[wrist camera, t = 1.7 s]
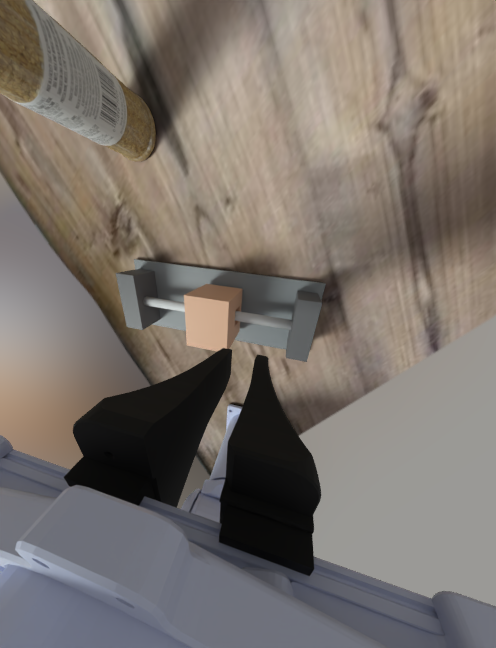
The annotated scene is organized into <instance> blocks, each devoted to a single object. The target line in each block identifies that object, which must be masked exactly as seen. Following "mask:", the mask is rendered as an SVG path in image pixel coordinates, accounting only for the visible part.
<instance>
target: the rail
mask: <svg viewBox="0 0 496 648" xmlns="http://www.w3.org/2000/svg"><path fill="white" fill-rule="evenodd" d="M134 263H135V269H136V270H131V271H125V272H120V273H116V277H117V282H118V287H119V291H120V296H121V301H122V305H123V310H124V315H125V320H126V324H127V327H131V328H136V329H141V330H143V329H145V328H146V327H148V326H150V325H152V324H153V325H158V326H163V327H169V328H174V329H179V330H184V331H186V322H185V306H184V295H185V294H187V293H189V292H191V291H193V290H195V289H197V288H199V287H201V286H203V285H205V284H212V285H219V286H227V287H234V288H241V289H243V291H242V304H241V312H240V311H235V321H240V331H239V333H238V335H237V336H236V338H235V340H238V341H243V342H248V343H254V344H259V345H264V346H270V347H275V348H280V349H286V358H289V359H295V360H300V361H305V362H307V358H308V355H309V351H310V347H311V344H312V340H313V336H314V332H315V329H316V325H317V321H318V317H319V314H320V310H321V306H322V301H321V300H322V296H323V292H324V288H325V285H326V284H325V283H321V282H313V281H305V280H297V279H290V278H282V277H274V276H266V275H258V274H250V273H242V272H234V271H226V270H218V269H211V268H203V267H195V266H187V265H179V264H171V263H163V262H155V261H147V260H140V259H134Z"/></svg>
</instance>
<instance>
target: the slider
mask: <svg viewBox="0 0 496 648" xmlns="http://www.w3.org/2000/svg"><path fill="white" fill-rule="evenodd" d="M242 291H243V289H241V288H234V287H227V286H219V285H212V284H205V285H203V286H201V287H199V288H197V289H195V290H193V291H191V292H189V293H187V294H185V295H184V306H185V322H186V338H187V345H188V346H193V347H198V348H203V349H208V350H213V351H219V350H221V349H222V348H226V349H229V348H230V347H231V345H232V343H233V341H234V340H235V338H236V336H237V335H238V333H239V331H240V321H235V311H240V312H241V304H242Z"/></svg>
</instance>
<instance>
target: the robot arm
mask: <svg viewBox="0 0 496 648" xmlns="http://www.w3.org/2000/svg"><path fill="white" fill-rule="evenodd" d="M231 359H232V350H231V349H226V348H222V349H221V350H219V351H218V352H216V353H215V354H213V355H212V356H210V357H209V358H207V359H206V360H204V361H203V362H201V363H199V364H198V365H196V366H194V367H193V368H191V369H189V370H187V371H185V372H183V373H181V374H179V375H177V376H175V377H173V378H171V379H168V380H165V381H163V382H160V383H158V384H155V385H152V386H149V387H146V388H143V389H140V390H136V391H133V392H129V393H125V394H121V395H116V396H112V397H107V398H104V399H103V400H102V401H100V402H99V403H98V404H97V405H96V406H94V407H93V408H92V409H91V410H90V411H88V412H87V413H86V414H85V415H84V416H82V417H81V418H80V419H79V420H78V421H76V423H75V424H74V427H73V434H74V437H75V439H76V441H77V443H78V445H79V447H80V450H81V452H82V454H83V456H84V457H83V458H82V459H81V460H80V461H79V462H78V463H77V464H76V465H75V466H74V467H73V468H72V469H71V470H70V469H67V468H64V467H61V466H58V465H56V464H53V463H50V462H47V461H44V460H42V459H38V458H36V457H33V456H30V455H28V454H25V453H22V452H19V451H16V450H14V449H13V447H12V445H11V444H10V442H9V441H8V440H7V439H6V438H4V437H3V436H1V435H0V648H496V606H493V605H490V604H487V603H484V602H481V601H478V600H475V599H472V598H470V597H467V596H464V595H461V594H458V593H454V592H450V591H442V592H438V593H437V594H435V595H434V596H433V598H432V599H431V598H428V597H425V596H423V595H420V594H417V593H414V592H411V591H409V590H406V589H403V588H400V587H397V586H395V585H392V584H389V583H386V582H383V581H381V580H378V579H375V578H372V577H370V576H367V575H364V574H361V573H358V572H356V571H353V570H350V569H347V568H344V567H342V566H339V565H336V564H333V563H330V562H328V561H325V560H322V559H319V558H316V557H314V556H313V541H312V533H313V532H314V523H313V514H314V512H315V510H316V508H317V506H318V504H319V502H320V498H321V489H320V483H319V478H318V474H317V470H316V467H315V463H314V460H313V457H312V455H311V453H310V452H309V450H308V449H307V448H306V446H305V445H304V444H303V442H302V441H301V439H300V438H299V436H298V435H297V433H296V432H295V430H294V429H293V427H292V425H291V424H290V422H289V420H288V418H287V417H286V415H285V413H284V411H283V409H282V407H281V405H280V403H279V400H278V398H277V396H276V393H275V390H274V387H273V384H272V381H271V377H270V373H269V367H268V357H266V356H261V355H257V356H256V359H255V362H254V368H253V374H252V379H251V384H250V388H249V391H248V393H247V396H246V399H245V402H244V404H243V407H240V406H236V405H232V404H229V405H228V409H227V428H226V434H225V437H224V439H223V442H222V445H221V448H220V451H219V454H218V457H217V459H216V462H215V465H214V468H213V471H212V474H211V477H210V479H209V480H207V479H206V480H205V482H204V484H203V487H202V490H201V489H196V490H194V491H193V492H192V493H191V494H190V495H189V496H188V497H187V499H186V500H185V502H184V504H183V506H182V507H181V509H179V508H177V505H178V502H179V499H180V496H181V493H182V490H183V487H184V485H185V482H186V479H187V476H188V473H189V471H190V468H191V465H192V463H193V460H194V457H195V455H196V452H197V449H198V447H199V444H200V442H201V439H202V437H203V434H204V432H205V429H206V427H207V424H208V422H209V420H210V418H211V416H212V414H213V412H214V410H215V408H216V406H217V404H218V403H219V401H220V399H221V397H222V395H223V393H224V391H225V389H226V386H227V384H228V381H229V378H230V375H231Z"/></svg>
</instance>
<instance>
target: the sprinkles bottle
mask: <svg viewBox="0 0 496 648" xmlns="http://www.w3.org/2000/svg"><path fill="white" fill-rule="evenodd" d="M0 93H1V94H3V95H4V96H6V97H7V98H9V99H10V100H12V101H14V102H16V103H18V104H20V105H22V106H24V107H26V108H28V109H30V110H32V111H34V112H36V113H38V114H40V115H42V116H44V117H46V118H48V119H50V120H53V121H55V122H57V123H59V124H61V125H63V126H65V127H67V128H69V129H71V130H73V131H75V132H77V133H78V134H80V135H82V136H84V137H86V138H88V139H90V140H92V141H94V142H96V143H98V144H101V145H104V146H106V147H108V148H110V149H112V150H114V151H116V152H119V153H121V154H122V155H123V156H124V157H126V158H128V159H129V160H131V161H135V162H139V161H143V160H145V159H146V158H147V157H148V156H150V154H151V152H152V151H153V149H154V145H155V136H156V130H155V123H154V119H153V116H152V114H151V112H150V110H149V108H148V106H147V105H146V103H145V102H144V101H143V99H142V98H141V97H139V96H138V95H137V94H135V93H133V92H132V91H130V90H129V89H128V88H127V87H126V86H125V85H124V84H123V83H122V82H121V81H119V80H118V79H117V78H116V77H115V76H114V75H113V74H112V73H111V72H110V71H109V70H107V69H106V68H105V67H104V66H103V65H102V63H101V62H100V61H99V60H98V59H97V58H96V57H94V56H93V55H92V54H91V53H90V52H89V51H88V50H87V49H86V48H85V47H84V46H83V45H82V44H81V43H79V42H78V41H77V40H76V39H75V38H74V37H73V36H72V35H71V34H70V33H69V32H68V31H66V30H65V29H64V28H63V27H62V26H61V25H60V24H59V23H58V22H57V21H56V20H54V19H53V18H52V17H51V16H49V15H48V14H47V13H46V12H45V11H44V10H43V9H42V8H41V7H39V6H38V5H37V4H36V3H35V2H34V1H33V0H0Z"/></svg>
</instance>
